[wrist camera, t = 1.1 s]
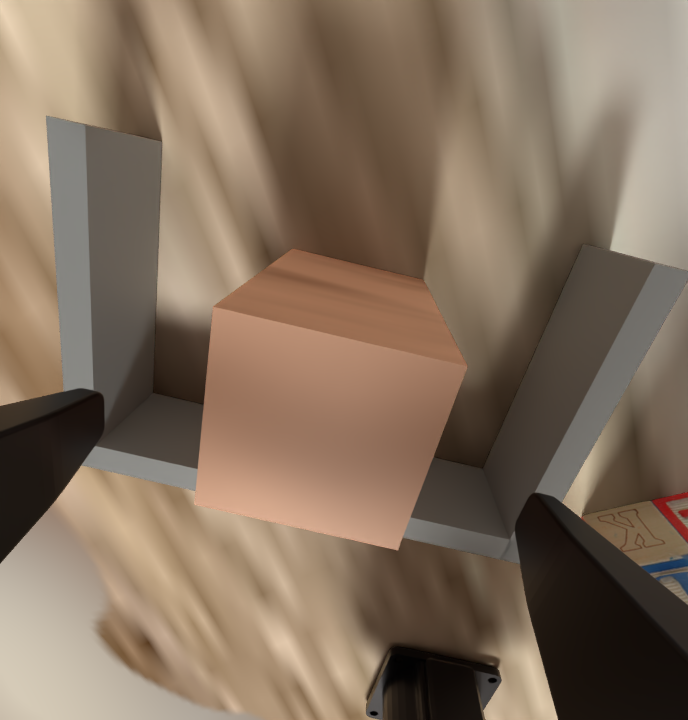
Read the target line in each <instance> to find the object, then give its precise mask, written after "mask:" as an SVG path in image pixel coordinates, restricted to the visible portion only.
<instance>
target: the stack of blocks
mask: <svg viewBox="0 0 688 720" xmlns="http://www.w3.org/2000/svg"><path fill="white" fill-rule="evenodd" d="M582 520H584V521H585V522H586V523H587V524H589V525H590V526H591V527H592V528H594V529H595V530H596V531H597V532H598V533H600V534H601V535H602V536H603V537H605V538H606V539H607V540H608V541H610V542H611V543H612V544H613V545H615V546H616V547H617V548H618V549H619V550H621V551H622V552H623V553H624V554H626V555H627V556H628V557H629V558H631V559H632V560H633V561H634V562H636V563H637V564H638V565H639V566H641V567H642V568H643V569H644V570H645V571H647V572H648V573H649V574H650V575H652V576H653V577H654V578H655V579H657V580H658V581H659V582H660V583H662V584H663V585H664V586H665V587H666V588H668V589H669V590H670V591H671V592H673V593H674V594H675V595H676V596H678V597H679V598H680V599H681V600H683V601H684V602H685V603H686V604H688V492H687V493H682V494H677V495H673V496H669V497H664V498H660V499H655V500H651V501H644V502H640V503H635V504H631V505H626V506H621V507H617V508H612V509H608V510H603V511H599V512H595V513H590V514H586V515H583V516H582Z"/></svg>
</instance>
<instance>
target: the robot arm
mask: <svg viewBox="0 0 688 720" xmlns="http://www.w3.org/2000/svg"><path fill="white" fill-rule="evenodd" d="M104 428H105V406H104V396H103V394H102V393H101V392H98V391H94V390H89V389H85V388H77V389H73V390H69V391H64V392H60V393H55V394H51V395H47V396H42V397H38V398H33V399H29V400H25V401H20V402H16V403H12V404H7V405H3V406H0V563H1V562H2V561H3V560H4V559H5V558H6V556H7V555H8V554H9V553H10V552H11V551H12V550H13V549H14V547H15V546H16V545H17V544H18V543H19V542H20V541H21V539H22V538H23V537H24V536H25V535H26V534H27V533H28V532H29V530H30V529H31V528H32V527H33V526H34V525H35V524H36V522H37V521H38V520H39V519H40V518H41V517H42V516H43V515H44V513H45V512H46V511H47V510H48V509H49V508H50V506H51V505H52V504H53V503H54V502H55V501H56V499H57V498H58V497H59V495H60V494H61V493H62V491H63V490H64V489H65V487H66V486H67V485H68V483H69V482H70V480H71V479H72V478H73V476H74V475H75V473H76V472H77V471H78V469H79V468H80V466H81V465H82V464H83V462H84V461H85V459H86V458H87V457H88V455H89V454H90V453H91V451H92V450H93V448H94V447H95V446H96V444H97V443H98V441H99V440H100V438H101V437H102V435H103V432H104ZM515 537H516V543H517V549H518V555H519V561H520V567H521V573H522V579H523V585H524V591H525V596H526V601H527V606H528V610H529V614H530V618H531V622H532V626H533V629H534V633H535V636H536V640H537V644H538V647H539V651H540V655H541V658H542V662H543V666H544V669H545V673H546V677H547V680H548V684H549V688H550V691H551V695H552V699H553V702H554V706H555V710H556V713H557V717H558V720H688V604H686V603H685V602H684V601H683V600H681V599H680V598H679V597H678V596H676V595H675V594H674V593H673V592H671V591H670V590H669V589H668V588H666V587H665V586H664V585H663V584H662V583H660V582H659V581H658V580H657V579H655V578H654V577H653V576H652V575H650V574H649V573H648V572H647V571H645V570H644V569H643V568H642V567H641V566H639V565H638V564H637V563H636V562H634V561H633V560H632V559H631V558H629V557H628V556H627V555H626V554H624V553H623V552H622V551H621V550H619V549H618V548H617V547H616V546H615V545H613V544H612V543H611V542H610V541H608V540H607V539H606V538H605V537H603V536H602V535H601V534H600V533H598V532H597V531H596V530H595V529H594V528H592V527H591V526H590V525H589V524H587V523H586V522H585V521H584V520H582V519H581V518H580V517H579V516H577V515H576V514H575V513H574V512H572V511H571V510H570V509H569V508H568V507H566V506H565V505H564V504H563V503H561V502H560V501H559V500H558V499H556V498H555V497H553V496H551V495H546V494H542V493H537V492H534V493H532V494H530V495H529V497H528V499H527V500H526V502H525V504H524V506H523V508H522V510H521V512H520V514H519V516H518V518H517V520H516V523H515ZM501 681H502V680H501V676H500V672H499V670H498V669H496V668H494V667H489V666H484V665H480V664H475V663H471V662H466V661H462V660H457V659H453V658H448V657H444V656H439V655H434V654H430V653H425V652H421V651H416V650H412V649H407V648H403V647H393V648H391V649H390V650H389V652H388V654H387V657H386V659H385V661H384V664H383V666H382V668H381V671H380V673H379V675H378V678H377V680H376V682H375V685H374V687H373V689H372V692H371V694H370V696H369V699H368V701H367V703H366V714H367V716H369V717H371V718H375V719H380V720H485V717H484V712H483V710H484V708H485V707H486V705H487V704H488V702H489V700H490V699H491V697H492V696H493V694H494V693H495V691H496V689H497V688H498V686H499V685H500V683H501Z"/></svg>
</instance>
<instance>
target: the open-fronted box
mask: <svg viewBox="0 0 688 720" xmlns="http://www.w3.org/2000/svg"><path fill="white" fill-rule="evenodd" d="M46 124H47V139H48V154H49V170H50V185H51V201H52V216H53V232H54V247H55V262H56V278H57V293H58V309H59V324H60V340H61V355H62V371H63V386H64V391H69V390H73V389H77V388H85V389H89V390H94V391H98V392H101V393H102V394H103V396H104V406H105V428H104V432H103V435H102V437H101V438H100V440H99V441H98V443H97V444H96V446H95V447H94V448H93V450H92V451H91V453H90V454H89V455H88V457H87V458H86V459H85V461H84V462H83V464H82V465H83V466H87V467H91V468H96V469H100V470H105V471H109V472H114V473H118V474H122V475H127V476H131V477H136V478H140V479H145V480H149V481H153V482H158V483H162V484H167V485H171V486H176V487H180V488H185V489H189V490H193V491H196V482H197V471H198V460H199V450H200V439H201V429H202V418H203V407H204V405H203V404H199V403H195V402H190V401H186V400H182V399H177V398H173V397H169V396H164V395H160V394H156V393H153V377H154V349H155V321H156V293H157V265H158V238H159V210H160V182H161V154H162V141H157V140H153V139H149V138H145V137H141V136H137V135H133V134H128V133H123V132H119V131H114V130H110V129H105V128H101V127H96V126H91V125H87V124H82V123H78V122H73V121H69V120H64V119H59V118H55V117H50V116H46ZM687 281H688V271H685V270H682V269H678V268H674V267H670V266H667V265H663V264H659V263H655V262H652V261H648V260H644V259H641V258H637V257H633V256H629V255H626V254H622V253H618V252H614V251H611V250H606V249H602V248H598V247H594V246H590V245H586V244H583V245H582V248H581V250H580V252H579V254H578V257H577V259H576V261H575V263H574V266H573V268H572V270H571V272H570V275H569V277H568V279H567V281H566V283H565V286H564V288H563V290H562V292H561V295H560V297H559V299H558V301H557V304H556V306H555V308H554V310H553V313H552V315H551V317H550V319H549V321H548V324H547V326H546V328H545V330H544V333H543V335H542V337H541V339H540V342H539V344H538V346H537V348H536V351H535V353H534V355H533V357H532V359H531V362H530V364H529V366H528V368H527V371H526V373H525V375H524V377H523V380H522V382H521V384H520V386H519V389H518V391H517V393H516V395H515V397H514V400H513V402H512V404H511V406H510V409H509V411H508V413H507V415H506V418H505V420H504V422H503V424H502V427H501V429H500V431H499V433H498V435H497V438H496V440H495V442H494V444H493V447H492V449H491V451H490V453H489V456H488V458H487V460H486V462H485V465H484V467H483V469H482V468H477V467H473V466H469V465H464V464H460V463H456V462H451V461H447V460H443V459H438V458H434V457H433V459H432V462H431V464H430V467H429V470H428V472H427V475H426V478H425V480H424V483H423V485H422V488H421V491H420V493H419V496H418V499H417V501H416V504H415V506H414V509H413V512H412V514H411V517H410V520H409V522H408V525H407V527H406V530H405V533H404V535H403V538H406V539H411V540H415V541H420V542H424V543H429V544H433V545H437V546H442V547H446V548H451V549H455V550H460V551H464V552H468V553H473V554H477V555H482V556H486V557H491V558H495V559H500V560H504V561H508V562H513V563H517V564H520V561H519V555H518V549H517V543H516V537H515V523H516V520H517V518H518V516H519V514H520V512H521V510H522V508H523V506H524V504H525V502H526V500H527V499H528V497H529V495H530V494H532V493H534V492H537V493H542V494H546V495H551V496H553V497H555V498H556V499H558V500H559V501H560V502H562V501H563V499H564V497H565V495H566V494H567V492H568V490H569V488H570V487H571V485H572V483H573V481H574V480H575V478H576V476H577V474H578V473H579V471H580V469H581V467H582V466H583V464H584V462H585V460H586V458H587V457H588V455H589V453H590V451H591V450H592V448H593V446H594V444H595V443H596V441H597V439H598V437H599V436H600V434H601V432H602V430H603V429H604V427H605V425H606V423H607V422H608V420H609V418H610V416H611V415H612V413H613V411H614V409H615V407H616V406H617V404H618V402H619V400H620V399H621V397H622V395H623V393H624V392H625V390H626V388H627V386H628V385H629V383H630V381H631V379H632V378H633V376H634V374H635V372H636V371H637V369H638V367H639V365H640V364H641V362H642V360H643V358H644V356H645V355H646V353H647V351H648V349H649V348H650V346H651V344H652V342H653V341H654V339H655V337H656V335H657V334H658V332H659V330H660V328H661V327H662V325H663V323H664V321H665V320H666V318H667V316H668V314H669V313H670V311H671V309H672V307H673V305H674V304H675V302H676V300H677V298H678V297H679V295H680V293H681V291H682V290H683V288H684V286H685V284H686V283H687Z"/></svg>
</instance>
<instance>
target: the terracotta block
mask: <svg viewBox="0 0 688 720" xmlns="http://www.w3.org/2000/svg"><path fill="white" fill-rule="evenodd" d="M467 367H468V366H467V364H466V362H465V360H464V358H463V356H462V354H461V352H460V350H459V348H458V346H457V344H456V343H455V341H454V339H453V337H452V335H451V333H450V331H449V329H448V327H447V325H446V323H445V321H444V319H443V317H442V315H441V313H440V311H439V309H438V307H437V305H436V303H435V301H434V299H433V297H432V296H431V294H430V292H429V290H428V288H427V286H426V284H425V282H424V280H422V279H418V278H414V277H410V276H405V275H401V274H397V273H393V272H389V271H385V270H380V269H376V268H372V267H368V266H364V265H359V264H355V263H351V262H347V261H343V260H338V259H334V258H330V257H326V256H322V255H318V254H313V253H309V252H305V251H301V250H297V249H291V250H290V251H289V252H287V253H286V254H284V255H283V256H282V257H280V258H279V259H278V260H276V261H275V262H273V263H272V264H271V265H269V266H268V267H267V268H265V269H264V270H262V271H261V272H260V273H258V274H257V275H256V276H254V277H253V278H252V279H250V280H249V281H247V282H246V283H245V284H243V285H242V286H241V287H239V288H238V289H236V290H235V291H234V292H232V293H231V294H230V295H228V296H227V297H226V298H224V299H223V300H221V301H220V302H219V303H217V304H216V305H215V306H213V312H212V323H211V333H210V344H209V354H208V365H207V376H206V386H205V397H204V407H203V418H202V429H201V439H200V450H199V460H198V471H197V482H196V492H195V503H194V504H195V505H199V506H203V507H208V508H212V509H217V510H221V511H226V512H230V513H234V514H239V515H243V516H248V517H252V518H257V519H261V520H266V521H270V522H274V523H279V524H283V525H288V526H292V527H297V528H301V529H305V530H310V531H314V532H319V533H323V534H328V535H332V536H337V537H341V538H345V539H350V540H354V541H359V542H363V543H368V544H372V545H376V546H381V547H385V548H390V549H394V550H398V548H399V546H400V543H401V540H402V538H403V535H404V533H405V530H406V527H407V525H408V522H409V520H410V517H411V514H412V512H413V509H414V506H415V504H416V501H417V499H418V496H419V493H420V491H421V488H422V485H423V483H424V480H425V478H426V475H427V472H428V470H429V467H430V464H431V462H432V459H433V457H434V454H435V451H436V449H437V446H438V443H439V441H440V438H441V436H442V433H443V430H444V428H445V425H446V422H447V420H448V417H449V415H450V412H451V409H452V407H453V404H454V401H455V399H456V396H457V394H458V391H459V388H460V386H461V383H462V380H463V378H464V375H465V373H466V370H467Z"/></svg>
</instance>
